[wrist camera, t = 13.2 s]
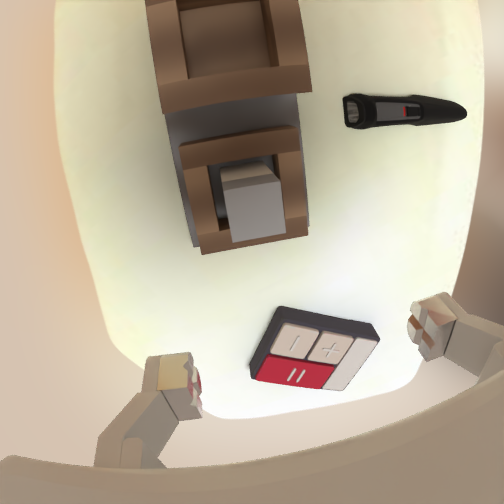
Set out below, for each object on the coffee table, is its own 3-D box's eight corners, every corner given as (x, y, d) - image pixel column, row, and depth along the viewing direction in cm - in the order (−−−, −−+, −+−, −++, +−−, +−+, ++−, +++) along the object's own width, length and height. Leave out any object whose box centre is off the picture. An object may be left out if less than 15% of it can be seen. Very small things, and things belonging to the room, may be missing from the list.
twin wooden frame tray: (151, 14, 22) (128, -18, 14) (276, -3, 23) (303, -40, 14) (194, 241, 33) (190, 291, 25) (305, 221, 34) (337, 263, 25)
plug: (219, 167, 29) (223, 190, 22) (262, 160, 29) (280, 180, 22) (226, 207, 31) (232, 242, 23) (267, 200, 31) (286, 232, 24)
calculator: (282, 321, 35) (383, 342, 39) (277, 300, 39) (372, 322, 43) (250, 383, 40) (344, 395, 43) (247, 361, 44) (336, 375, 47)
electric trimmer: (451, 126, 31) (468, 130, 28) (344, 129, 30) (357, 132, 27) (450, 97, 29) (467, 99, 27) (340, 94, 28) (354, 93, 26)
